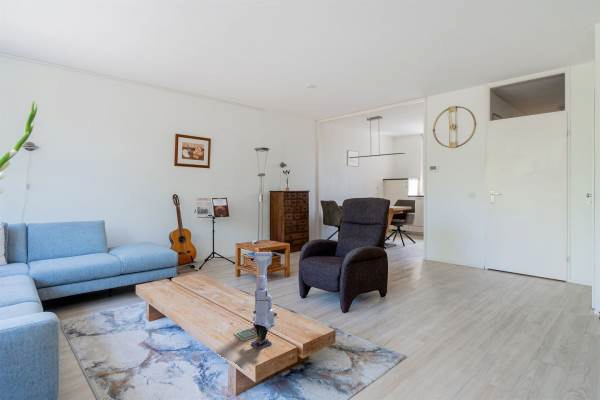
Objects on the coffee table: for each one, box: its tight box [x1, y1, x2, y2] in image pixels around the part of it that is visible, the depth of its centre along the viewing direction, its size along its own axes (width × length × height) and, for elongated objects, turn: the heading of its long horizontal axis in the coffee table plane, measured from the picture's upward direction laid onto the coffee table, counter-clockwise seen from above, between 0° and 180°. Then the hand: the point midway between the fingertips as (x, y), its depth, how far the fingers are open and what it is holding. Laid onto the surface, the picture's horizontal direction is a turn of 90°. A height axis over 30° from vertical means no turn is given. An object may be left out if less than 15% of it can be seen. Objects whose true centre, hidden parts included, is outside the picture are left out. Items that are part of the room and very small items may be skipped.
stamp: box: [255, 330, 269, 345], centre depth 167 cm, size 5×4×6 cm
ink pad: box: [250, 340, 273, 350], centre depth 167 cm, size 8×7×1 cm
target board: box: [233, 328, 258, 342], centre depth 178 cm, size 10×10×1 cm
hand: (261, 338), depth 167 cm, fingers closed on stamp, 3 cm apart
